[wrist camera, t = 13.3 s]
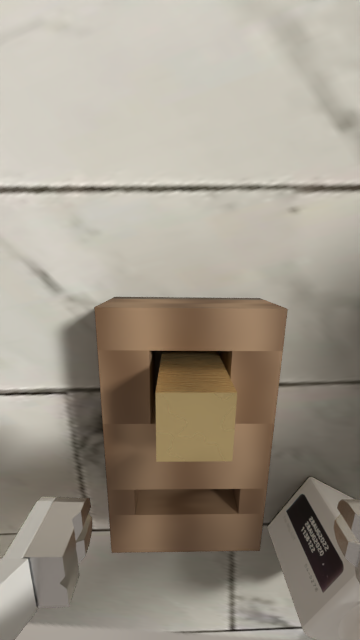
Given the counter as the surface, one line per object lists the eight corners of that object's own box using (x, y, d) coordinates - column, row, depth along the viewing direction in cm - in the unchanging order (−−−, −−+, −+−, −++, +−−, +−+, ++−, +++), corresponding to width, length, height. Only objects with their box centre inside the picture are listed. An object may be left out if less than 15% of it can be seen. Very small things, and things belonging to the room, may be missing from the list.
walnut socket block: (259, 298, 20) (287, 308, 15) (242, 492, 24) (259, 550, 19) (115, 297, 19) (94, 307, 14) (124, 493, 24) (111, 552, 19)
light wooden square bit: (212, 341, 19) (237, 392, 12) (210, 386, 20) (232, 461, 12) (163, 341, 19) (155, 392, 11) (163, 385, 20) (156, 461, 12)
